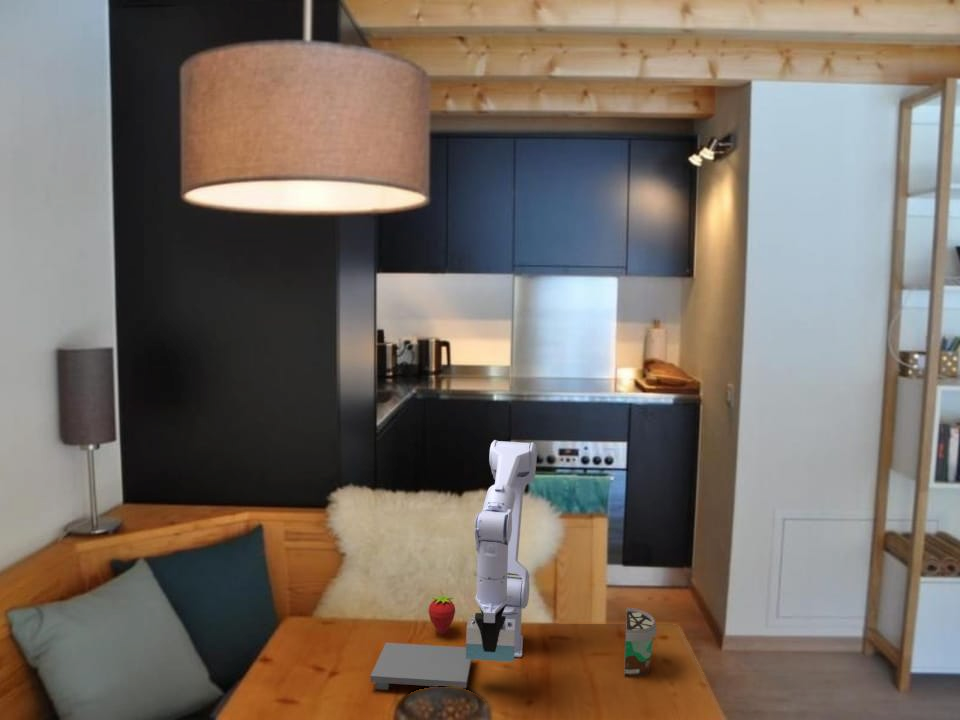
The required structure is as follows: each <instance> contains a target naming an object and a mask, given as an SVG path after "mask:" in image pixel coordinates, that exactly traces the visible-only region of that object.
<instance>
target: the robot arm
mask: <svg viewBox="0 0 960 720" xmlns="http://www.w3.org/2000/svg"><path fill="white" fill-rule="evenodd" d="M537 459H538V449H537V445H536V443H535V442H517V441H503V440H501V441H499V440H497V439H494V440H493V441H492V442H491V444H490V447H489V459H488V461H489V466H490V470H491V474H492V476H493V480H495V481H494V484H492V485H491V486H490V487H488V490H487V492H486V495H485V499H484V502H483V506H482V511H481V512H480V513H479V512H478V513H477V514H476V516H475V521H474V538H475V551H477V562H476V563H477V565H476V568H477V569H476V572H477V573H476V595H475V603H476V604H477V606H479V607H478V608H479V609H480V612H475V615H474V617H475V621H476V623H477V625H478V627H479V630H480V633H481V638H482V644H483V649H484V652H495V650H496V647H497V642H498V637H499V633H500V630H501V628H502V626H503V624H504V622H505V619H515V649H514V658H521V657H522V656H523V647H524V646H523V645H524V644H523V641H524V636H523V635H522V634H521V633H522V610H523V609H526V607H527V606H528V605H529V601H530V600H529V598H530V574H529V570H528V569H527V568H526V567H525V566H524V565H523V564H522V563H520V562H519V559H518V558H519V549H520V536H521V524H522V512H523V511H522V510H523V499H524V493H525V490H526V487H527V485H529V484H530V483H533V482H535V477H536V469H537ZM517 576H519V577H517Z"/></svg>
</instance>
